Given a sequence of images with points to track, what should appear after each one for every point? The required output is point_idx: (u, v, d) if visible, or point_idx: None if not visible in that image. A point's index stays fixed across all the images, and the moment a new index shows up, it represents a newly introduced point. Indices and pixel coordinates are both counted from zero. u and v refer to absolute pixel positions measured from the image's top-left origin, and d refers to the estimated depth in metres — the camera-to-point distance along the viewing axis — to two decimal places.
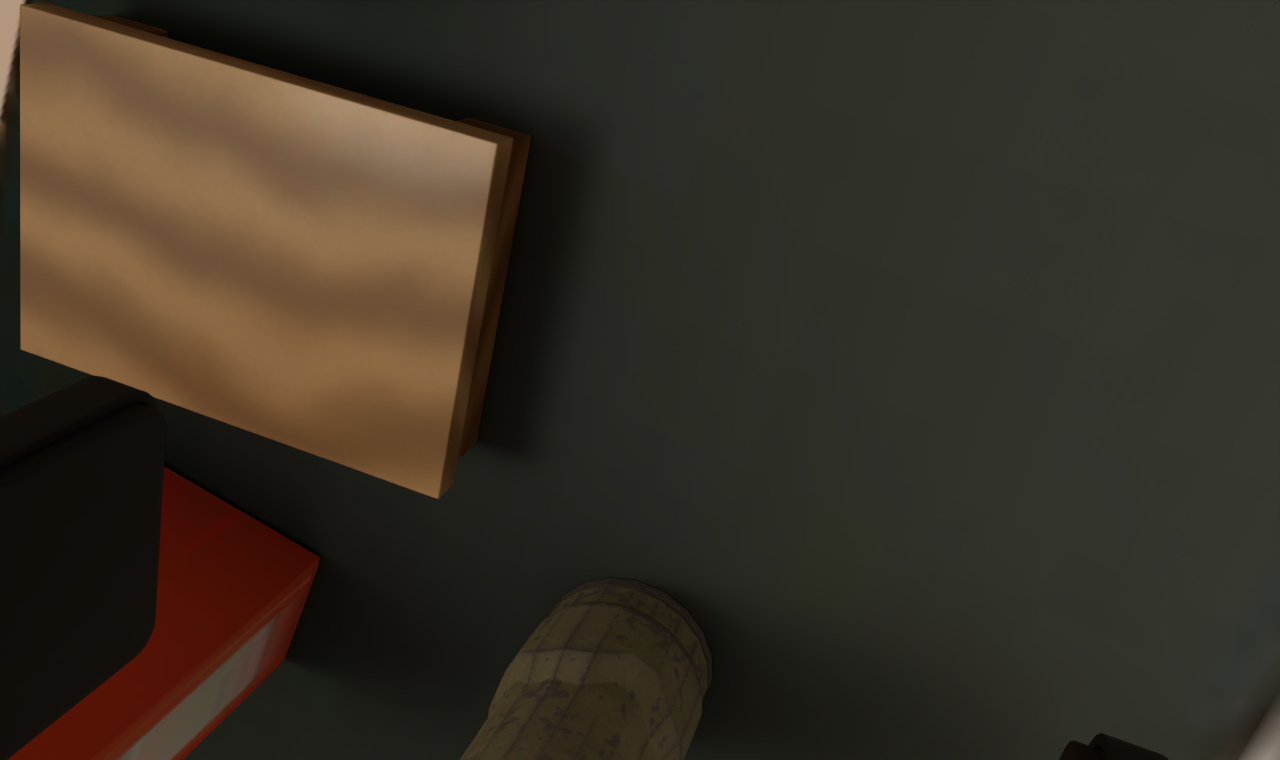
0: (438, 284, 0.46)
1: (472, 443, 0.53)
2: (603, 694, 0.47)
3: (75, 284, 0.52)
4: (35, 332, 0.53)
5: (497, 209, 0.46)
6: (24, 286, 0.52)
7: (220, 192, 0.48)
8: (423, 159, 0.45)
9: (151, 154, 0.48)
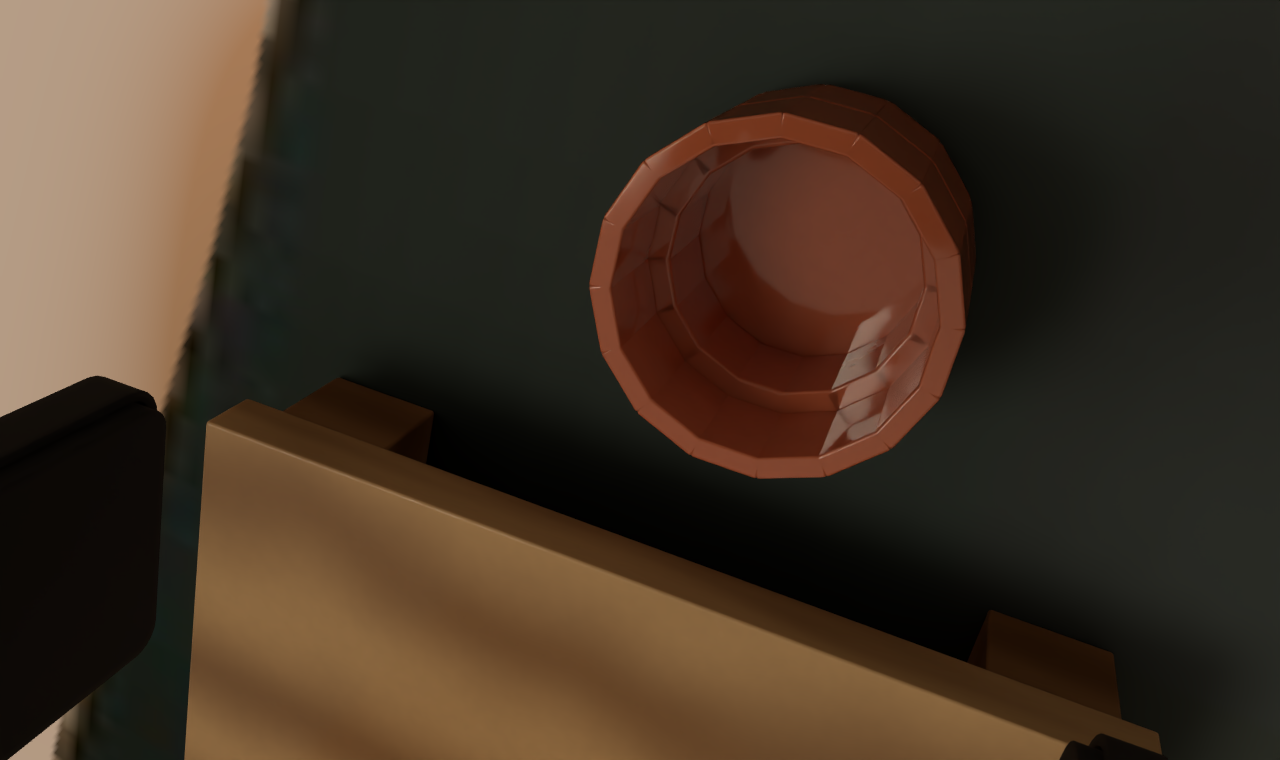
0: None
1: None
2: None
3: None
4: None
5: None
6: None
7: (561, 758, 0.27)
8: None
9: (435, 681, 0.27)
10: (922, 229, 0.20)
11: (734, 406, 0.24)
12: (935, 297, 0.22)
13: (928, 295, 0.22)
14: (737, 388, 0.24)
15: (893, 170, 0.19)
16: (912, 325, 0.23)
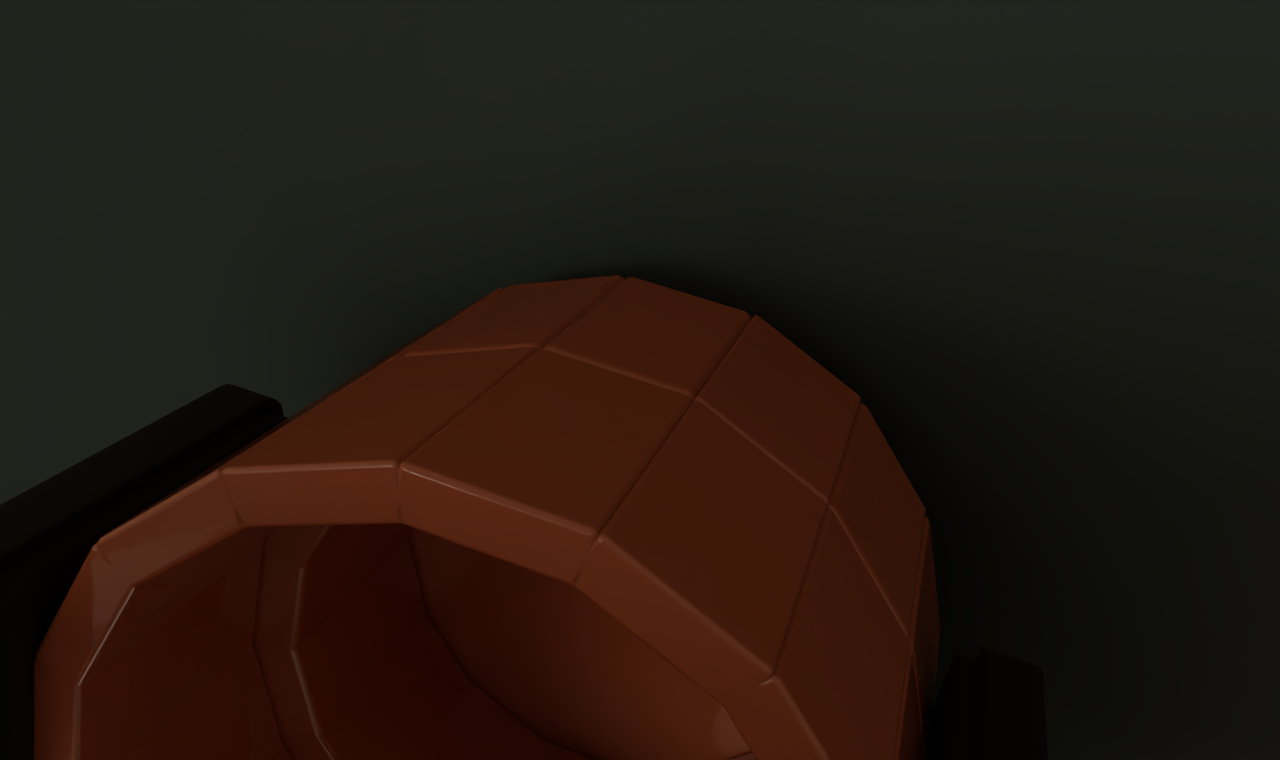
0: None
1: None
2: None
3: None
4: None
5: None
6: None
7: None
8: None
9: None
10: None
11: None
12: None
13: None
14: None
15: (696, 634, 0.07)
16: None
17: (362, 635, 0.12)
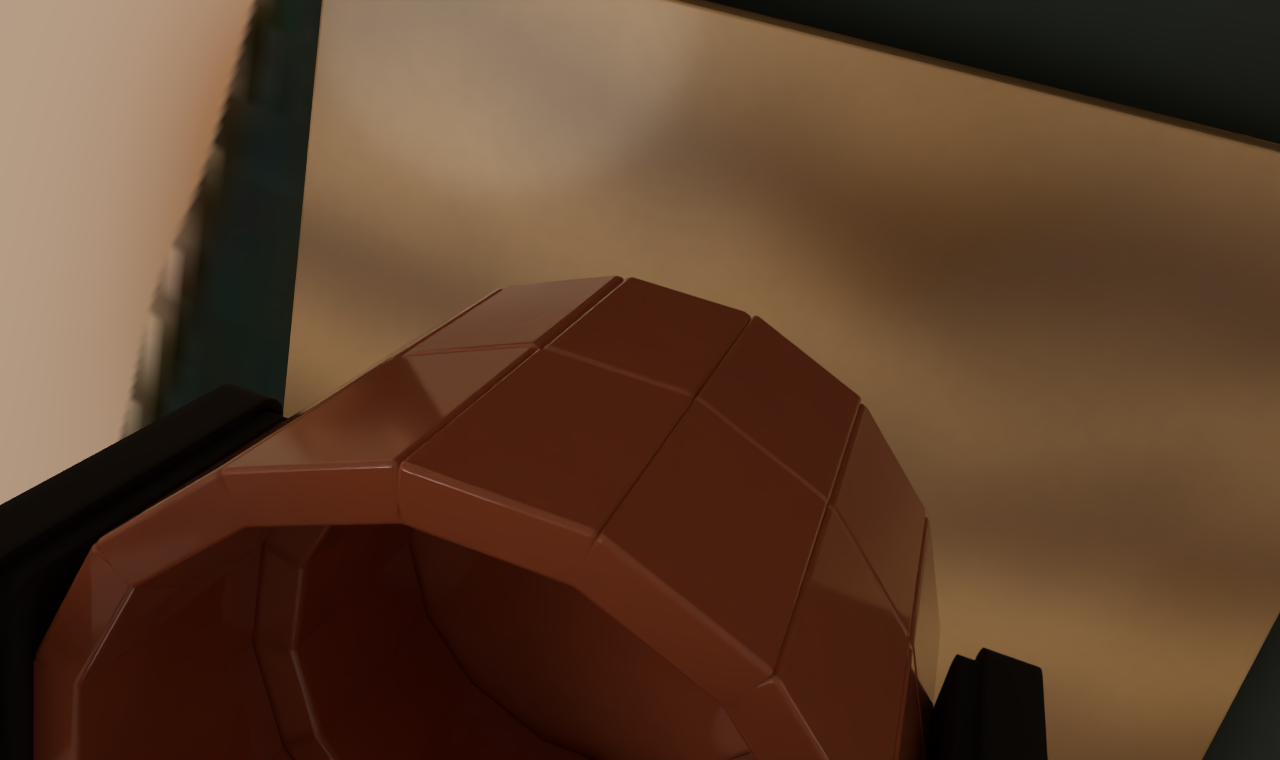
0: (1243, 499, 0.22)
1: None
2: None
3: None
4: None
5: None
6: None
7: (740, 298, 0.23)
8: (1275, 239, 0.20)
9: (591, 219, 0.24)
10: None
11: None
12: None
13: None
14: None
15: (696, 635, 0.07)
16: None
17: (362, 635, 0.12)
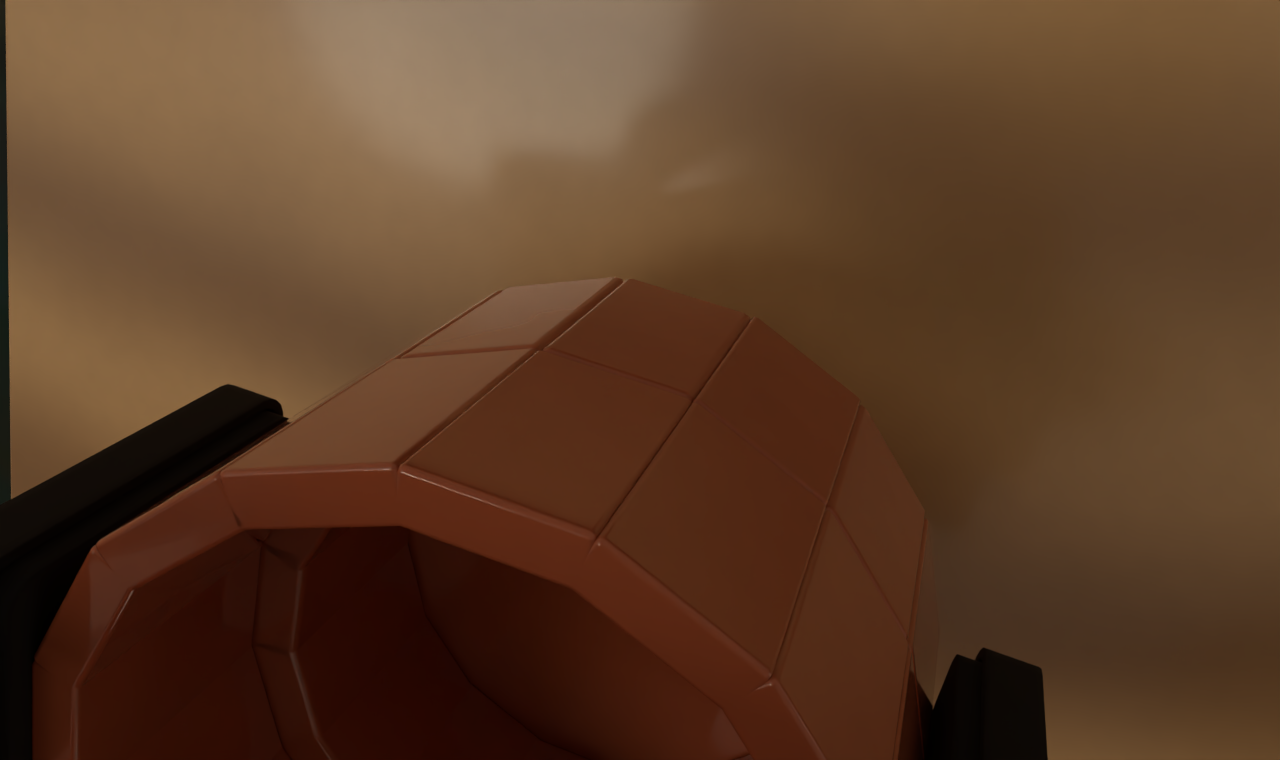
0: None
1: None
2: None
3: None
4: None
5: None
6: None
7: (672, 269, 0.14)
8: None
9: (434, 142, 0.15)
10: None
11: None
12: None
13: None
14: None
15: (695, 637, 0.07)
16: None
17: (361, 637, 0.12)
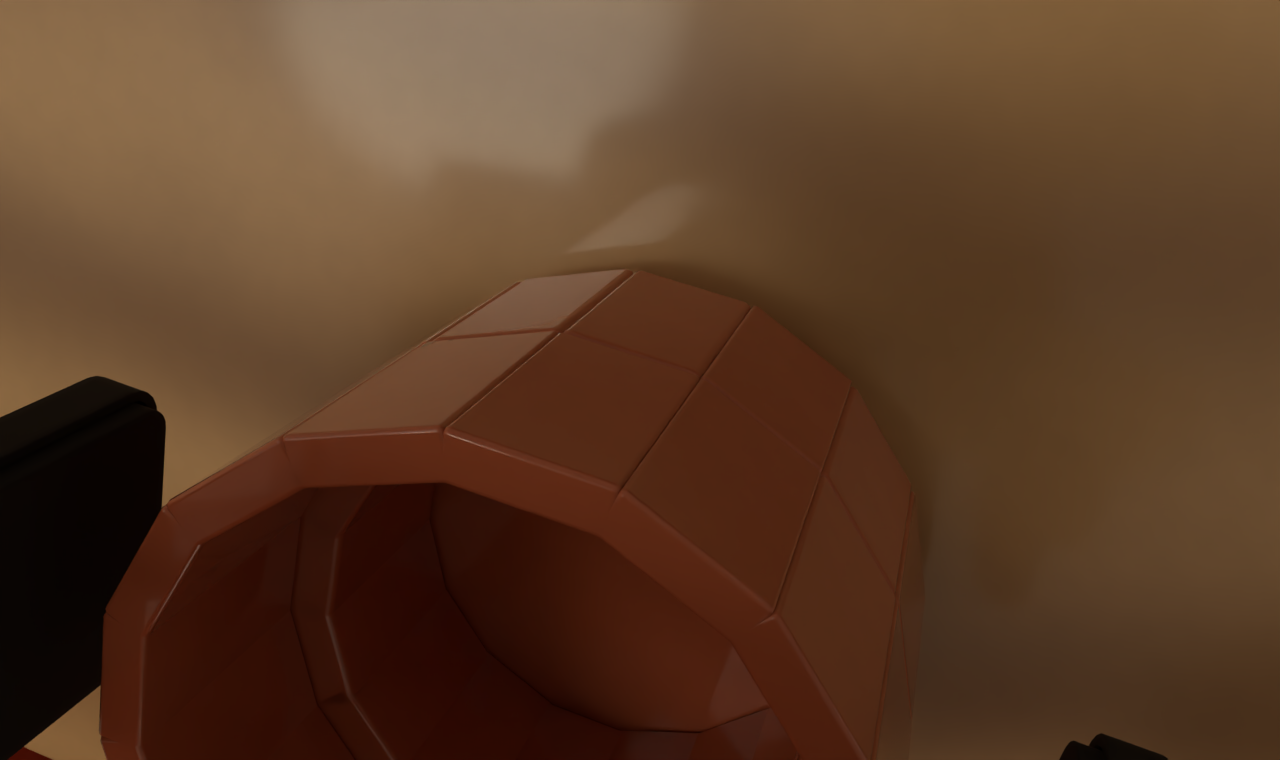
0: None
1: None
2: None
3: None
4: None
5: None
6: None
7: None
8: None
9: (372, 174, 0.14)
10: (782, 709, 0.08)
11: None
12: None
13: None
14: None
15: (706, 577, 0.08)
16: None
17: (388, 604, 0.13)
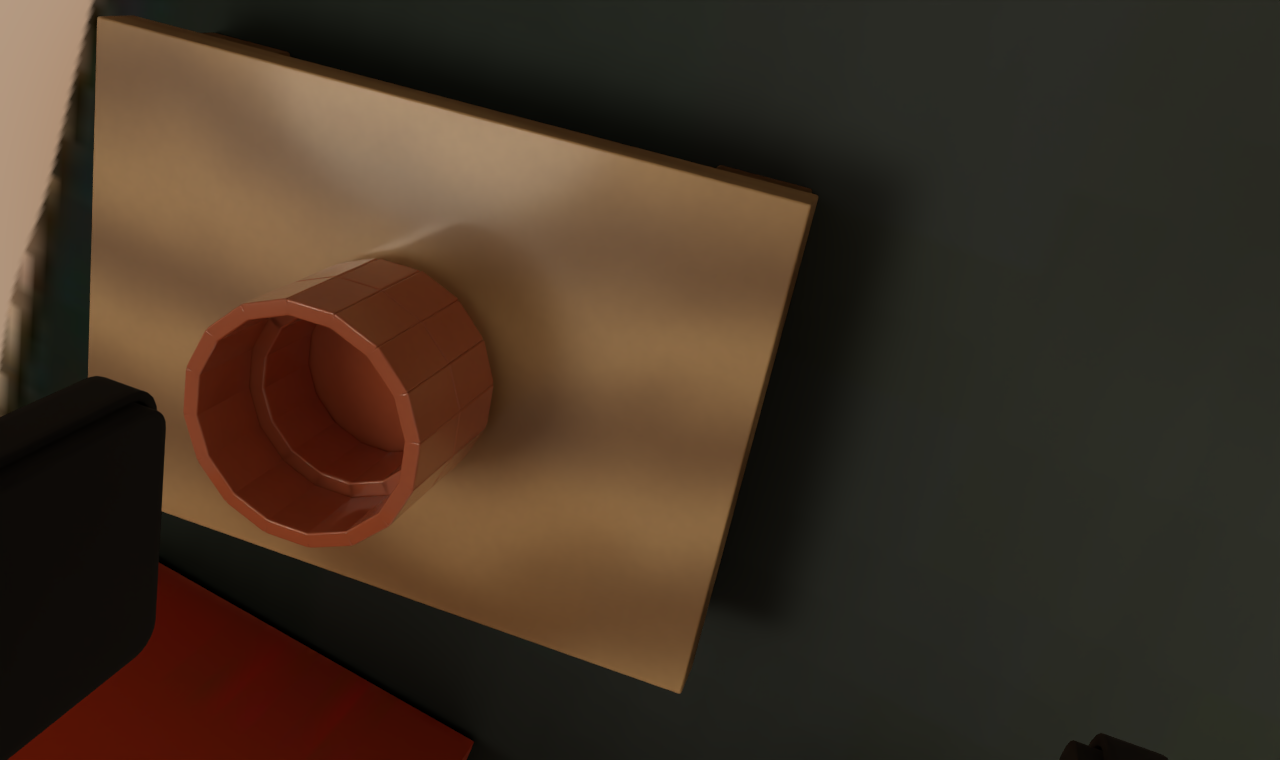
0: (702, 403, 0.32)
1: None
2: None
3: (165, 399, 0.38)
4: None
5: (790, 296, 0.32)
6: None
7: None
8: (693, 228, 0.31)
9: (282, 223, 0.34)
10: (383, 376, 0.29)
11: (314, 493, 0.33)
12: None
13: None
14: (321, 479, 0.33)
15: (359, 337, 0.28)
16: None
17: (288, 392, 0.34)
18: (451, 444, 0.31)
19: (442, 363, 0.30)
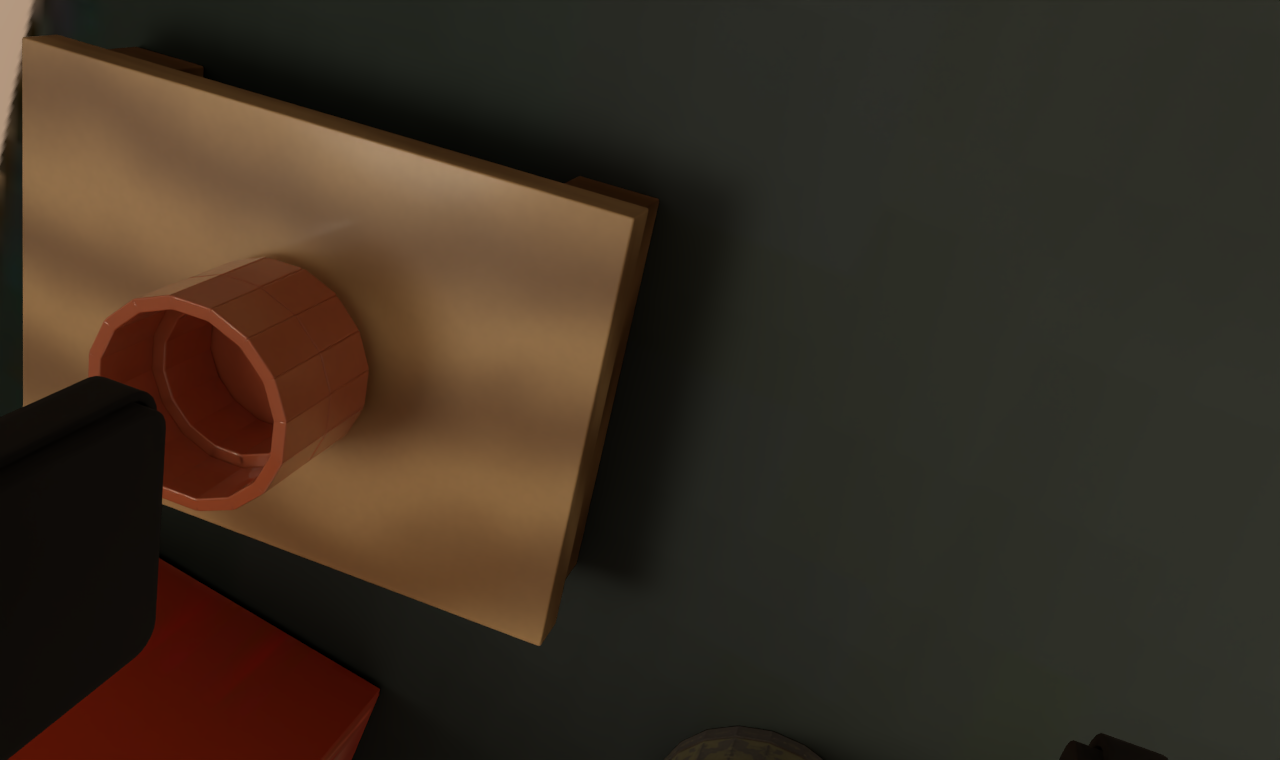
0: (549, 390, 0.37)
1: (572, 566, 0.44)
2: None
3: None
4: None
5: (626, 297, 0.36)
6: (27, 377, 0.43)
7: None
8: (535, 236, 0.35)
9: (186, 223, 0.39)
10: (253, 364, 0.33)
11: (208, 463, 0.37)
12: None
13: None
14: (215, 451, 0.38)
15: (232, 330, 0.33)
16: None
17: (190, 374, 0.38)
18: (323, 423, 0.36)
19: (313, 352, 0.35)
